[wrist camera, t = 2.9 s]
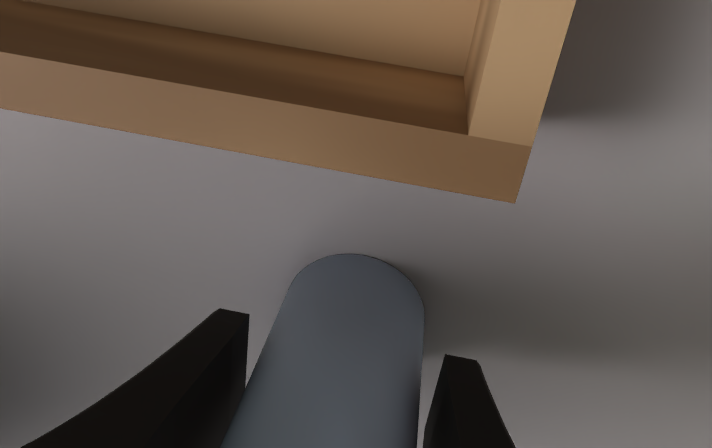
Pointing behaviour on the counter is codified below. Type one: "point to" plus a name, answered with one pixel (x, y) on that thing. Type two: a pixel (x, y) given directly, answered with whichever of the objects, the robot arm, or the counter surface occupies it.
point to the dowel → (337, 362)
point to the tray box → (301, 79)
